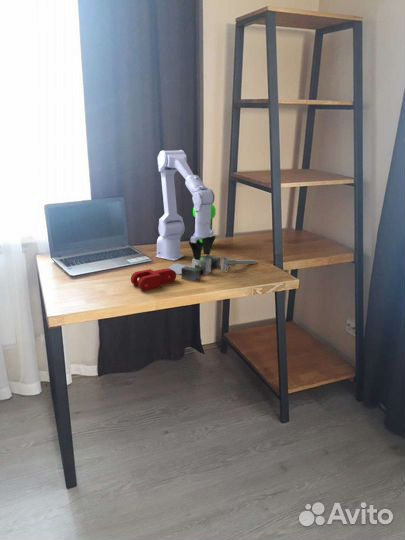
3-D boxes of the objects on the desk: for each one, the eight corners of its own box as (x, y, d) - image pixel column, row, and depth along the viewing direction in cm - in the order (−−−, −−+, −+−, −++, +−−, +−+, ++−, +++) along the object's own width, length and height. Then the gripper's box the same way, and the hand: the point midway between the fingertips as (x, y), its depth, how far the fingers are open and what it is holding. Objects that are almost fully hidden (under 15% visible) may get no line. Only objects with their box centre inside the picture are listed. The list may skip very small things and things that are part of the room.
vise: (181, 278, 168) (181, 268, 166) (206, 264, 184) (207, 254, 183) (195, 281, 165) (195, 271, 164) (219, 266, 182) (220, 257, 180)
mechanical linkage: (140, 292, 154) (140, 279, 153) (130, 286, 160) (130, 272, 158) (179, 283, 163) (179, 270, 162) (169, 278, 169) (169, 265, 167)
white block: (192, 272, 174) (192, 259, 172) (197, 269, 178) (197, 256, 176) (205, 275, 172) (206, 261, 170) (210, 272, 175) (211, 259, 173)
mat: (162, 271, 175) (162, 270, 175) (175, 264, 183) (175, 263, 183) (179, 275, 171) (179, 274, 171) (192, 267, 180) (192, 266, 179)
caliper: (222, 273, 175) (223, 258, 173) (220, 272, 176) (221, 257, 174) (257, 263, 188) (258, 249, 186) (255, 262, 189) (256, 248, 187)
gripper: (203, 227, 160) (202, 263, 165) (221, 219, 172) (219, 253, 177) (185, 224, 163) (185, 260, 168) (204, 217, 175) (203, 250, 180)
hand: (201, 256), depth 172 cm, fingers open, 7 cm apart
